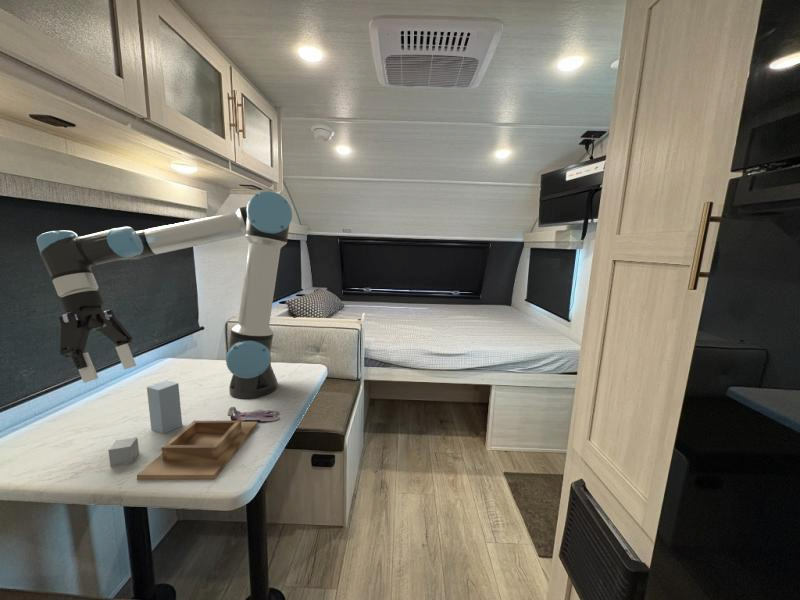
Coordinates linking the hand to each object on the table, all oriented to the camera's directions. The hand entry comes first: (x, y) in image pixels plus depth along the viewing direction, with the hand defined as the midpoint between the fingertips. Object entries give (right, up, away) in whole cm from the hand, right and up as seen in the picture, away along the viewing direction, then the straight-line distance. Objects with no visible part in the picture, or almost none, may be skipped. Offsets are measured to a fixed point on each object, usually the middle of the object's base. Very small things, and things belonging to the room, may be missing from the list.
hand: (112, 373), depth 83 cm
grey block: (+9, -18, -8) cm, 22 cm away
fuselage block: (+9, -16, +6) cm, 19 cm away
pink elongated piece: (+31, -16, +11) cm, 37 cm away
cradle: (+25, -17, -3) cm, 31 cm away
